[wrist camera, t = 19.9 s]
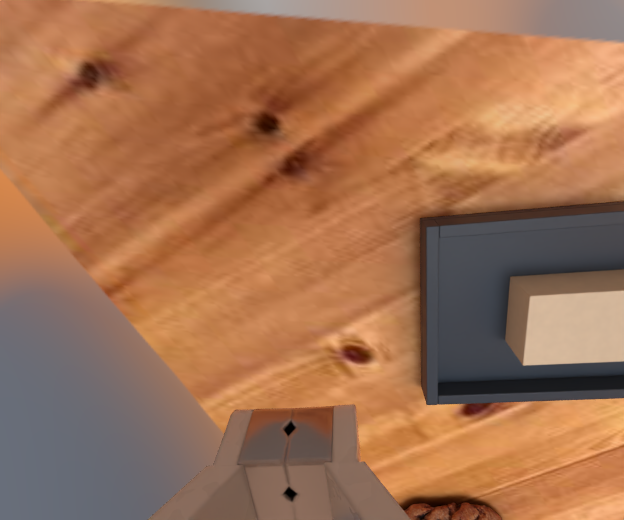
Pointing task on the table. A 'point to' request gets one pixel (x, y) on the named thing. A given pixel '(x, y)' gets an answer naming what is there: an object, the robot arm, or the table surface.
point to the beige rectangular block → (566, 317)
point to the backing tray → (494, 300)
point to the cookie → (451, 512)
